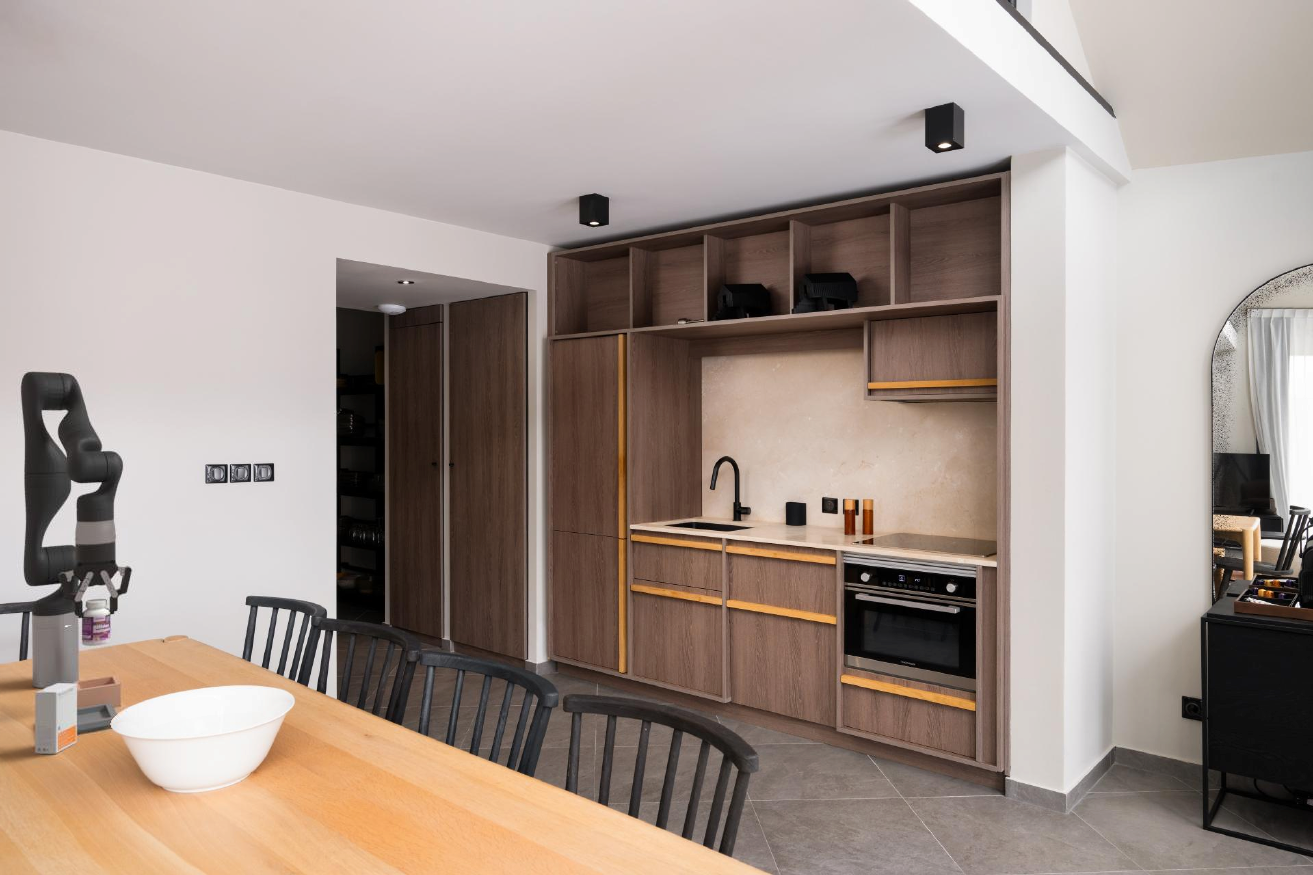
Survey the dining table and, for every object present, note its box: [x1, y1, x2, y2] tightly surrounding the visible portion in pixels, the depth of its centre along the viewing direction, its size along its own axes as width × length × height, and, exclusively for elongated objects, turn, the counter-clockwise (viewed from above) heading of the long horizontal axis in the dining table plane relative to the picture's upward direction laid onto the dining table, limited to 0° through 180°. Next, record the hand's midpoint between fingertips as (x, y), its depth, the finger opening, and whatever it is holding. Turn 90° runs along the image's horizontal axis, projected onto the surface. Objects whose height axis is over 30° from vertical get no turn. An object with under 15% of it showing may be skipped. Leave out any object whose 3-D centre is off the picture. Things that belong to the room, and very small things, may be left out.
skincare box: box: [34, 683, 78, 755], centre depth 167 cm, size 6×4×12 cm
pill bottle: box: [81, 598, 112, 647], centre depth 192 cm, size 5×5×10 cm
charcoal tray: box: [77, 702, 118, 736], centre depth 180 cm, size 12×12×2 cm
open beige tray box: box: [73, 674, 122, 708], centre depth 192 cm, size 8×8×5 cm
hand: (96, 615), depth 192 cm, fingers closed on pill bottle, 5 cm apart
